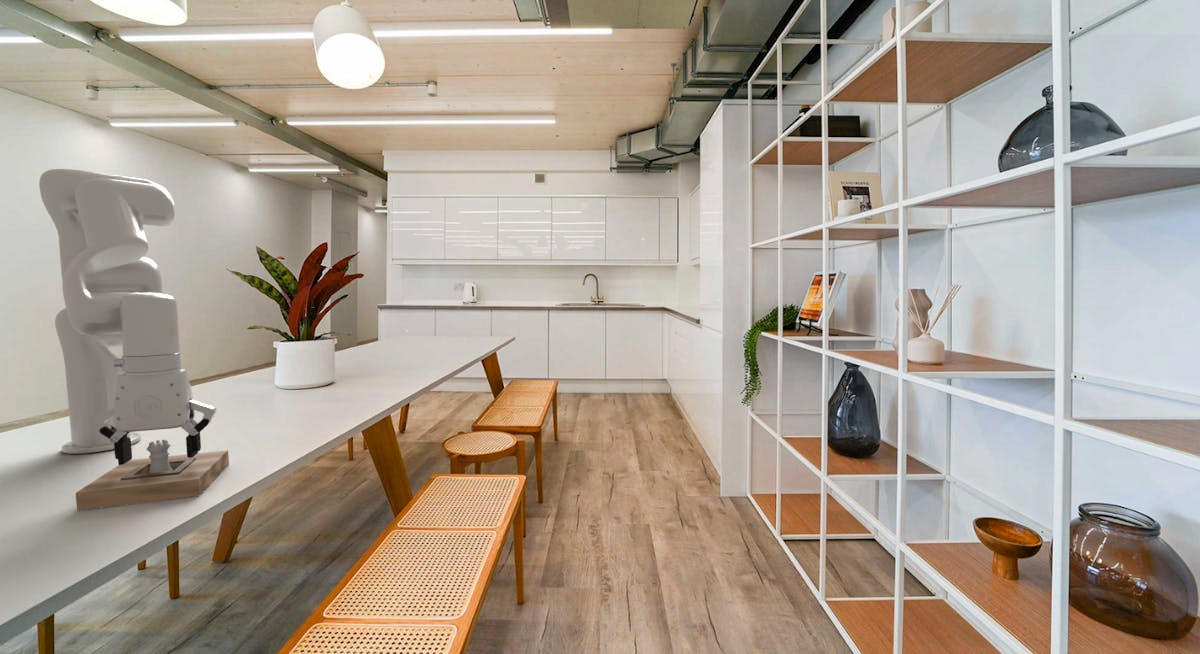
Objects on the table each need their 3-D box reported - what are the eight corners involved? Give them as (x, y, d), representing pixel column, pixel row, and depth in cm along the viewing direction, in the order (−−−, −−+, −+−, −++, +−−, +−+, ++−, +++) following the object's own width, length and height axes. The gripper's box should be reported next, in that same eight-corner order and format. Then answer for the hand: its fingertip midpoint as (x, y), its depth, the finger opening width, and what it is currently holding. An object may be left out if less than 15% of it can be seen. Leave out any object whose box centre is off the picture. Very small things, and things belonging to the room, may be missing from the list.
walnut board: (127, 475, 95) (125, 458, 95) (229, 464, 101) (228, 448, 101) (77, 511, 80) (75, 491, 80) (199, 495, 86) (198, 477, 86)
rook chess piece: (158, 491, 88) (154, 446, 87) (137, 489, 89) (134, 444, 88) (183, 481, 92) (181, 439, 92) (164, 479, 93) (161, 437, 93)
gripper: (76, 370, 82) (84, 472, 83) (205, 364, 88) (211, 459, 90) (101, 363, 89) (108, 458, 90) (219, 358, 95) (224, 446, 97)
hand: (159, 458), depth 90 cm, fingers open, 9 cm apart
